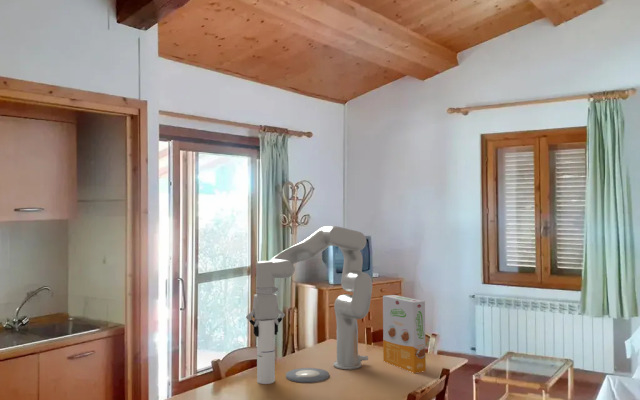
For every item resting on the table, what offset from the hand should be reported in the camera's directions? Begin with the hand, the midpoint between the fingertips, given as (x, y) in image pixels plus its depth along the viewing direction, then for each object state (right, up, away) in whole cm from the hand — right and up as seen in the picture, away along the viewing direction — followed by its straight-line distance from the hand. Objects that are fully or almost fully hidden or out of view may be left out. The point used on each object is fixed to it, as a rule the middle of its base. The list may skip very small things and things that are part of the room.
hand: (265, 334), depth 225 cm
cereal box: (+59, -19, +21) cm, 66 cm away
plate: (+17, -19, +6) cm, 26 cm away
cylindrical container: (0, -19, -1) cm, 19 cm away
